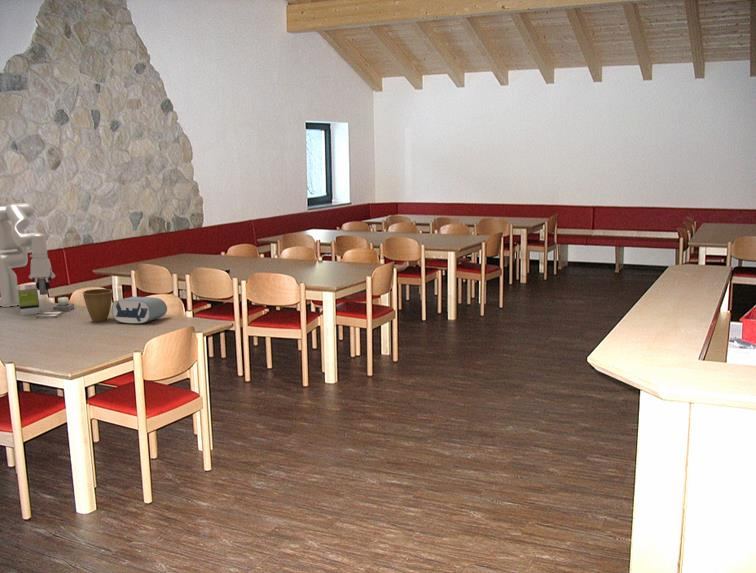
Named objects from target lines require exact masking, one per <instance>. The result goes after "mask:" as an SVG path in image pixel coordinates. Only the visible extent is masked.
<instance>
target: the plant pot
mask: <svg viewBox="0 0 756 573" xmlns="http://www.w3.org/2000/svg"><path fill="white" fill-rule="evenodd" d="M82 294H83V299H84V304H85V306H86V309H87V312H88V314H89V317H90V318H91V320H92V322H94V323H100V322H102V321H103V322H107V321H108V318H109V314H110V312H111V309H112V302H113V301H112V300H113V289H109V288H94V289H88V290H84V291H83V292H82Z"/></svg>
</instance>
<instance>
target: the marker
mask: <svg viewBox="0 0 756 573" xmlns="http://www.w3.org/2000/svg"><path fill="white" fill-rule="evenodd" d="M38 281H39V290H38V291H39V296H43V295H44V296H46V295H48V290H46V285H45V283H46V279H45V277H39V278H38Z"/></svg>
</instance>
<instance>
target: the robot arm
mask: <svg viewBox="0 0 756 573" xmlns="http://www.w3.org/2000/svg"><path fill="white" fill-rule="evenodd" d="M34 214H35V213H34V207H33V205H31V204H30V203H29V202H20V203H19V202H17V203H9V204H8V205H0V251H3V252H0V300H1V301H0V306H2V307H1V308H9V307H10V306H13V307H18V306H17V305H19V296H18V286H19V285H18V277H17V274H16V273H15V271H14V270H12V269H14V268H23V267H26V266H27V264H28V263H29V262H28V261H29V259H28V256H29V257H30V258H31V260H30V274H29V275H28V278H29V279H31V280H32V281H33V282H34V283H35V284H36V288H37V291H39V281H38V278H39V277H45V279H46V283H45V285H46V290H47V291H48V290H49V289H50V288H51V283H50V282H51V281H52V280H53V279H54V278H56V274H55V273H54V272H53V270H52V269H53V268H52V264H51V261H50V258H48V249H47V248H48V247H47V238H46V237H47V236H46V235H45V233H41V232H38V231H37V232H25V233H22V231H24V230H26V229H27V228H29V226H30V223H31V221H30V218H32V217H33V216H34ZM9 221H10V222H11V223H12V225H11V223H10V222H9ZM28 247H29V248H30V247H31V253H30V254H29V255H28ZM11 250H14V251H11ZM15 250H16V251H15ZM4 251H5V252H4ZM19 306H20V305H19ZM10 308H11V307H10Z"/></svg>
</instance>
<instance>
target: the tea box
mask: <svg viewBox="0 0 756 573" xmlns="http://www.w3.org/2000/svg"><path fill="white" fill-rule="evenodd" d="M38 291H39V290H37V288H36V283H35V284H26V285H18V296H19V312H20V313H19V314H20V316H26V315H25V314H31V315H38V314H37V313H39V314H41V313H40V303H39V292H38Z"/></svg>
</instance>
